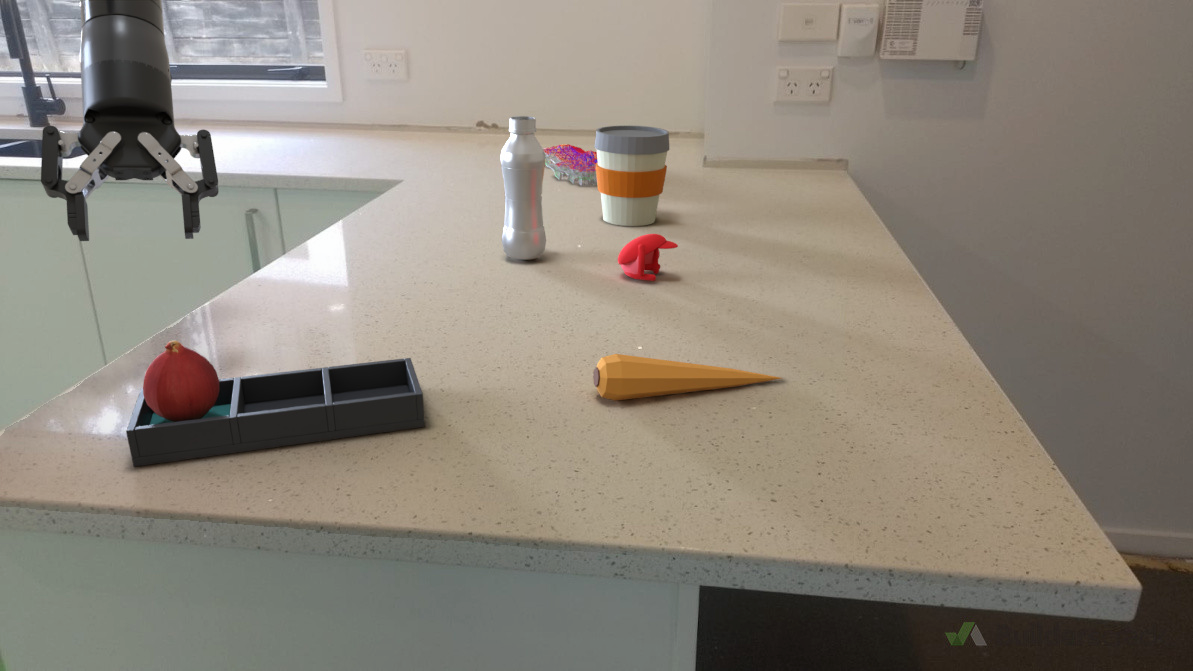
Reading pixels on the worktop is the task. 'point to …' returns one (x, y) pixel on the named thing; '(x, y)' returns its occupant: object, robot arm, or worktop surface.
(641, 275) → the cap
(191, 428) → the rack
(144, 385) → the onion
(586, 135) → the worktop surface
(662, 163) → the reusable coffee cup
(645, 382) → the carrot
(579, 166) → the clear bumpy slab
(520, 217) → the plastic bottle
